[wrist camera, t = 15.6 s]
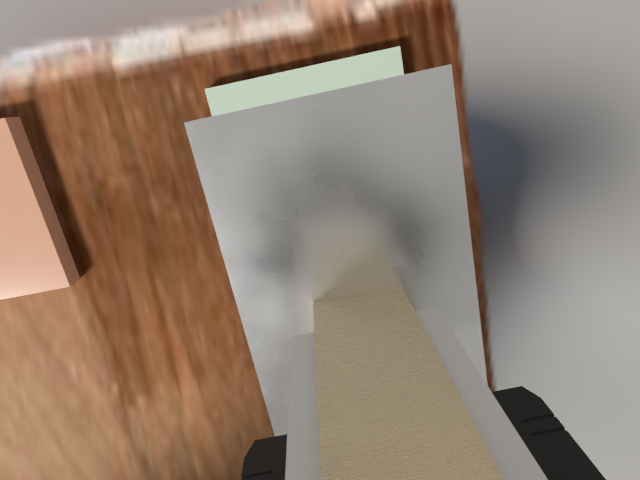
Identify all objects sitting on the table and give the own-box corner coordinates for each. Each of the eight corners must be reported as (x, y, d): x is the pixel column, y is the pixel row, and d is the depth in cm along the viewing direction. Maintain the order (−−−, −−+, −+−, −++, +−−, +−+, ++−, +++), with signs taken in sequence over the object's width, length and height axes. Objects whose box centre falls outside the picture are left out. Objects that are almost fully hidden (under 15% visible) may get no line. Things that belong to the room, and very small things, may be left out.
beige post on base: (489, 469, 19) (680, 848, 9) (301, 505, 19) (299, 911, 10) (441, 66, 14) (729, -4, 5) (191, 121, 14) (-30, 163, 5)
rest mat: (435, 313, 36) (439, 318, 35) (276, 345, 37) (275, 352, 36) (397, 47, 30) (400, 45, 29) (207, 89, 31) (204, 89, 30)
